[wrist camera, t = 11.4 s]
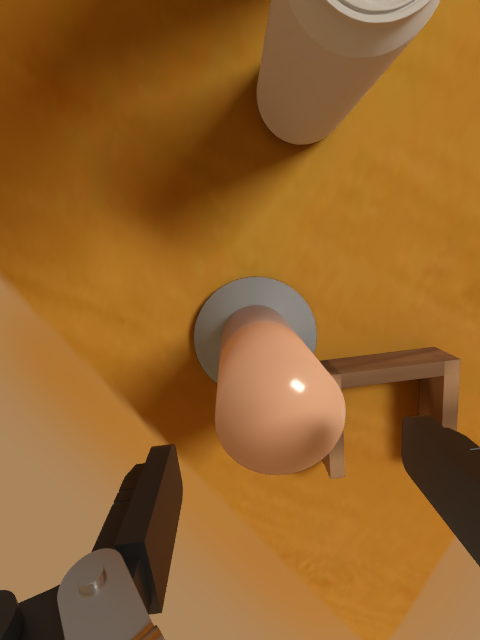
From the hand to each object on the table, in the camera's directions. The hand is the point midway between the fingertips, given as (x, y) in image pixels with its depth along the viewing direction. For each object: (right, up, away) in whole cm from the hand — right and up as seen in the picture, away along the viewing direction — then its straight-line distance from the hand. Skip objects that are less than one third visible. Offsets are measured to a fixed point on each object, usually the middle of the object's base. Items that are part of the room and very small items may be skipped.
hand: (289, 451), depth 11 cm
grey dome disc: (-1, +3, +15) cm, 15 cm away
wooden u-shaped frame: (+10, -3, +16) cm, 20 cm away
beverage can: (+2, +20, +11) cm, 23 cm away
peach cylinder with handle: (0, +2, +14) cm, 14 cm away
